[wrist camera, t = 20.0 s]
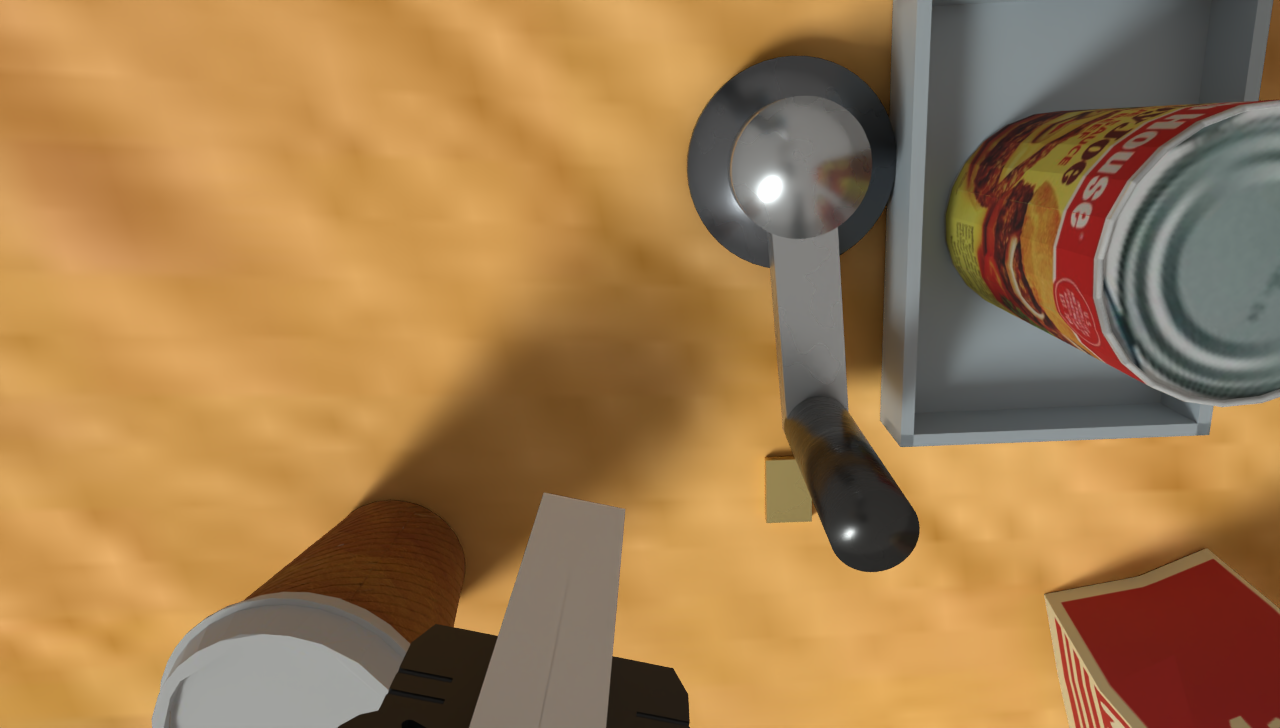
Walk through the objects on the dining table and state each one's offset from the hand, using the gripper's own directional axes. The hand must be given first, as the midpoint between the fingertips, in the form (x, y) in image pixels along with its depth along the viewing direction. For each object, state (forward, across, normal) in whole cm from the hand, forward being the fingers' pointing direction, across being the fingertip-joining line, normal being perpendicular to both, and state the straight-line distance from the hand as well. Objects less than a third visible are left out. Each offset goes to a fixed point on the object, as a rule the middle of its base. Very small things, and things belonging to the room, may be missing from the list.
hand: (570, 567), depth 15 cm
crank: (+19, +7, +3) cm, 20 cm away
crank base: (+20, +5, +8) cm, 22 cm away
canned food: (+20, +16, +8) cm, 27 cm away
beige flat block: (+20, +9, -6) cm, 23 cm away
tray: (+20, +16, +8) cm, 27 cm away
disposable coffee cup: (+21, -8, -14) cm, 26 cm away
